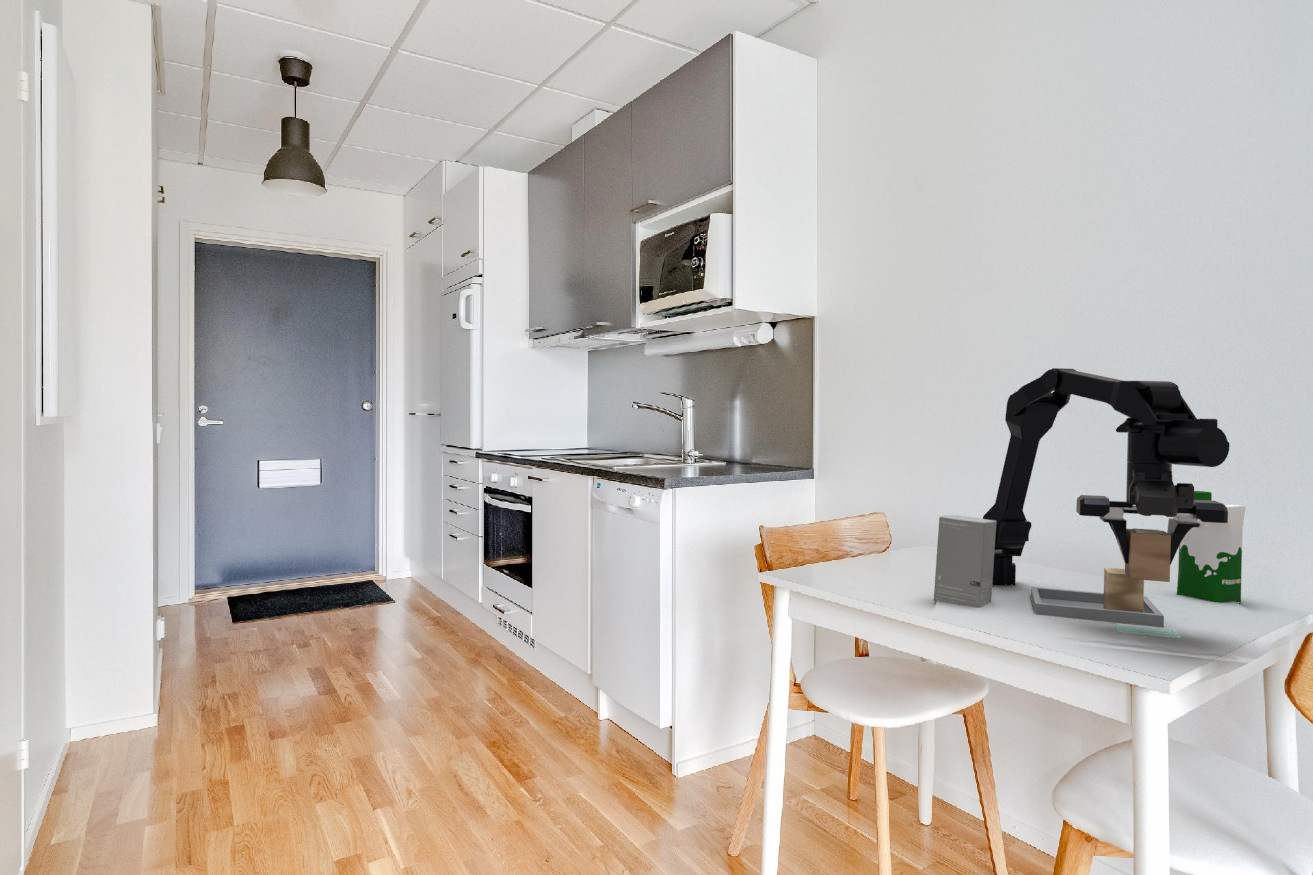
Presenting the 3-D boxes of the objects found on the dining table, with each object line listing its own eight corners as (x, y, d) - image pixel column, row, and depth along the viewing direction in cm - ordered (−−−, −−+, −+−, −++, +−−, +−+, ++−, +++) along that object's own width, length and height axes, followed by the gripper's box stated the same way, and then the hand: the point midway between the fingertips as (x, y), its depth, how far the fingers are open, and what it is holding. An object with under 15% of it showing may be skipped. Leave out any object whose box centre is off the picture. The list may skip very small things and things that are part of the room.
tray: (1034, 618, 123) (1035, 603, 123) (1030, 600, 136) (1030, 586, 136) (1163, 631, 116) (1163, 615, 116) (1146, 610, 128) (1146, 596, 128)
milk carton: (1197, 593, 142) (1199, 489, 142) (1250, 604, 134) (1253, 494, 133) (1168, 597, 139) (1170, 491, 138) (1221, 608, 130) (1223, 495, 130)
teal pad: (1118, 636, 113) (1118, 631, 113) (1113, 628, 117) (1113, 623, 117) (1181, 643, 109) (1181, 638, 109) (1173, 634, 114) (1173, 629, 114)
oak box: (1107, 614, 123) (1108, 572, 123) (1103, 607, 127) (1104, 567, 127) (1143, 618, 121) (1144, 575, 120) (1137, 611, 125) (1138, 570, 125)
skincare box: (933, 604, 132) (934, 516, 132) (948, 597, 138) (949, 512, 137) (981, 612, 127) (983, 521, 126) (995, 605, 132) (997, 517, 132)
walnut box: (1124, 572, 116) (1125, 527, 116) (1162, 575, 114) (1163, 529, 114) (1130, 578, 112) (1131, 531, 112) (1169, 582, 110) (1170, 533, 110)
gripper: (1085, 463, 109) (1083, 568, 110) (1241, 468, 102) (1238, 580, 102) (1077, 460, 119) (1075, 556, 120) (1218, 463, 112) (1215, 566, 112)
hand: (1146, 564), depth 113 cm, fingers closed on walnut box, 5 cm apart
